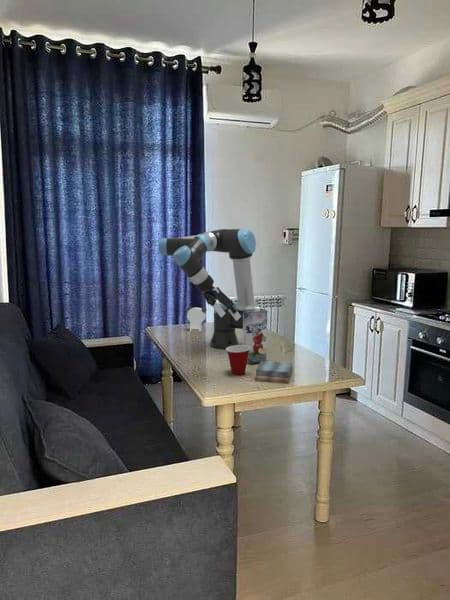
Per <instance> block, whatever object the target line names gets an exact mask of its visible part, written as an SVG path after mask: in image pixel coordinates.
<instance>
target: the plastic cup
mask: <svg viewBox="0 0 450 600" xmlns="http://www.w3.org/2000/svg"><path fill="white" fill-rule="evenodd" d="M249 350H250V347H249V346H247V345H243V344H238V345H234V346H230V347H227V348H226V349H225V351H226V353H227V356H228V360H229V366H230V370H231V371H230V373H231V374H232V375H233V376H244V375H245V373H246V370H247V369H246V368H247V364H248V363H247V359H248V354H249Z"/></svg>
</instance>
